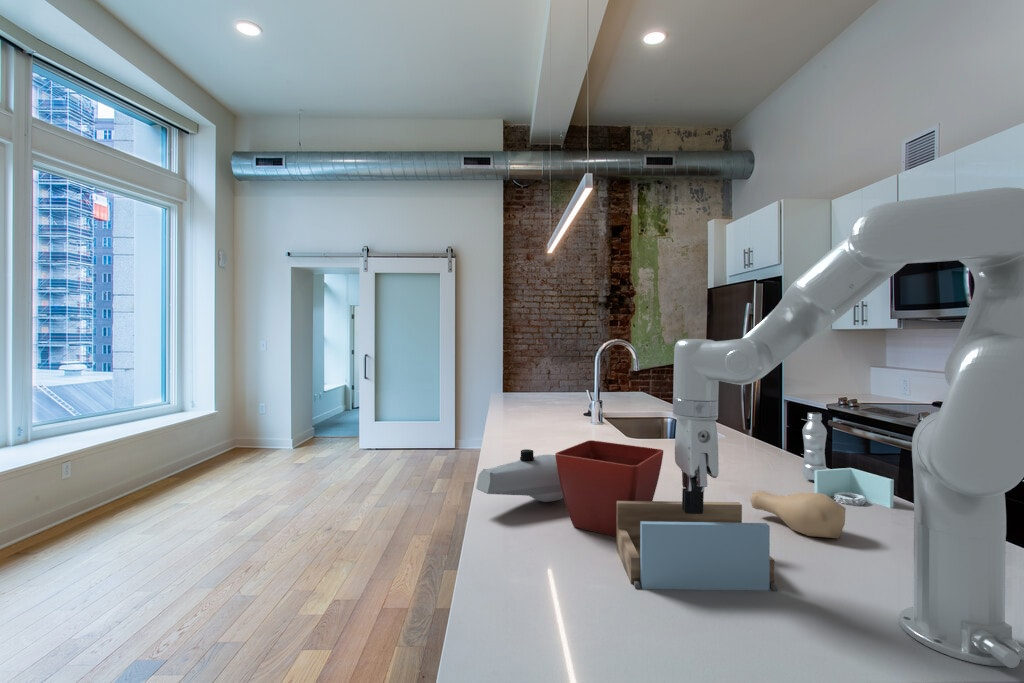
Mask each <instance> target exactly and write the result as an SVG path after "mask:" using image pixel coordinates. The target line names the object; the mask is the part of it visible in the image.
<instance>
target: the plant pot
mask: <svg viewBox="0 0 1024 683" xmlns="http://www.w3.org/2000/svg"><path fill="white" fill-rule="evenodd" d="M554 455H555V456H556V464H557V470H558V476H559V481H560V485H561V489H562V493H563V497H564V498H563V500H564V504H565V506H566V510H567V513H568V516H569V519H570V522H571V524H572V525H573V527H575V528H578V529H581V530H585V531H590V532H593V533H598V534H600V535H601V534H602V535H606V536H609V537H614V538H616V505H617V501H654V496H655V494H656V491H657V490H656V489H657V486H658V483H659V477H660V474H661V469H662V464H663V458H664V449H661V448H654V447H645V446H640V445H638V446H637V445H631V444H622V443H615V442H610V441H609V442H608V441H600V440H592V439H591V440H586V441H583V442H580V443H578V444H576V445H574V446H571V447H570V446H569V447H568V448H565V449H563V450H560V451H558V452H556V453H554Z"/></svg>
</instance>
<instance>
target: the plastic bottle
mask: <svg viewBox="0 0 1024 683" xmlns="http://www.w3.org/2000/svg"><path fill="white" fill-rule="evenodd" d="M822 415H823V414H822V413H820V412H807V421H806V423H805V424H804V426H803V428H802V429H801V430H802V439H803V450H804V451H803V452H804V454H803V463H802V468H801V470H802V472H801V473H802V475H803V477H804V478H805V479H807V480H810V481H814V482H815V470H827V469H828V468H827V465H826V455H825V452H826V451H825V449H826V442H827V435H828V432H827V428H826V426H825V425H824V424H823V422H822V420H823V417H822Z"/></svg>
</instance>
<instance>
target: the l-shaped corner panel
mask: <svg viewBox="0 0 1024 683" xmlns="http://www.w3.org/2000/svg"><path fill="white" fill-rule="evenodd" d="M894 482H895V480H894V478H893V479H892V478H888V477H886V476H881V475H878V474H874V473H870V472H867V471H864V470H860V469H857V468H852V467H845V468H832V469H831V468H827V470H815V481H814V492H813V493H821V494H826V495H827V496H828V497H830V498H832V497H831V496H834V497H833V500H836V502H837V503H839V502H841V503H844V504H843V505H848V504H849V505H850V506H855V507H856V506H858V507H859V506H864V504H866V501H867V502H870V503H873V504H877V505H879V506H883V507H887V508H888V509H893V508H894V506H895V505H894V502H895V501H894V499H895V498H894V491H895V490H894V488H895V486H894V484H895V483H894ZM841 503H840V504H841ZM849 505H848V506H849Z"/></svg>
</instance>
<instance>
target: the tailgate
mask: <svg viewBox="0 0 1024 683" xmlns="http://www.w3.org/2000/svg"><path fill="white" fill-rule="evenodd" d="M770 526H771V525H769V524H768V523H767V522H742V523H723V522H648V521H640V589H642V590H643V589H646V590H647V589H649V590H650V589H652V590H653V589H655V590H657V589H658V590H706V591H707V590H708V591H709V590H710V591H712V590H713V591H714V590H715V591H716V590H717V591H719V590H720V591H722V590H723V591H770V589H769V571H770V556H771V555H770V554H771V553H770V551H771V550H770V545H771V544H770V542H771V541H770V540H771V539H770V538H771V536H770V534H771V532H770V529H771V527H770Z"/></svg>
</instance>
